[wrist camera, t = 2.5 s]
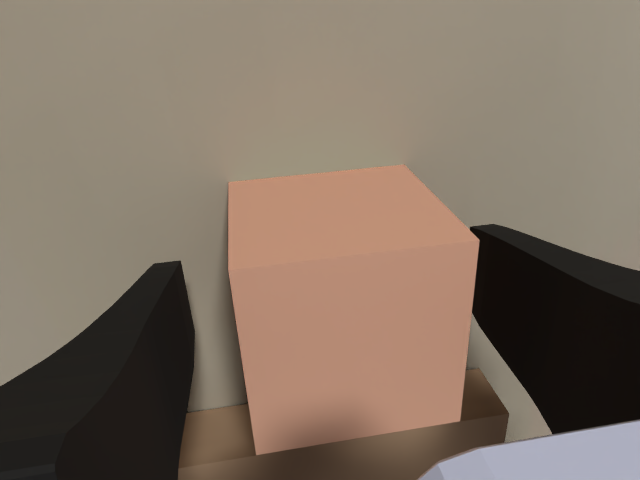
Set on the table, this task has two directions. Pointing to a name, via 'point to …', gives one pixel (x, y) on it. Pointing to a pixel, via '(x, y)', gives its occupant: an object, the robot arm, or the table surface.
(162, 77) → the table surface
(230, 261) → the terracotta cube
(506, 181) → the table surface
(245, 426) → the walnut board
